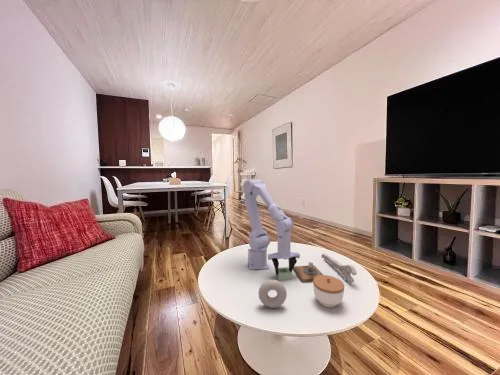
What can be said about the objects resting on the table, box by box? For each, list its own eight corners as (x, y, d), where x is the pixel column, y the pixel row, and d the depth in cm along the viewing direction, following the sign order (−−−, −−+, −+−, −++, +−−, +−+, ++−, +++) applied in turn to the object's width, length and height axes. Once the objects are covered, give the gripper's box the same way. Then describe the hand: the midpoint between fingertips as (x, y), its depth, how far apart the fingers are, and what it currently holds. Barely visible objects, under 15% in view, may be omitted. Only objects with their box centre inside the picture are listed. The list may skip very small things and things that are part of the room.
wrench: (324, 263, 117) (357, 287, 87) (321, 263, 117) (352, 287, 87) (324, 248, 117) (356, 267, 87) (321, 248, 117) (352, 268, 87)
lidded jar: (307, 302, 78) (308, 278, 77) (320, 290, 86) (320, 268, 85) (336, 316, 71) (338, 290, 70) (347, 301, 79) (348, 277, 78)
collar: (279, 280, 93) (279, 273, 93) (275, 273, 99) (276, 267, 99) (291, 279, 94) (291, 272, 94) (287, 273, 100) (287, 267, 99)
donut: (285, 304, 77) (286, 278, 76) (287, 310, 74) (287, 283, 73) (258, 303, 77) (258, 277, 76) (258, 309, 74) (258, 282, 73)
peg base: (301, 282, 91) (302, 270, 91) (292, 269, 103) (293, 258, 103) (325, 280, 93) (326, 268, 92) (314, 268, 105) (314, 257, 104)
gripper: (270, 248, 90) (269, 279, 91) (302, 247, 92) (301, 277, 93) (266, 243, 97) (266, 271, 98) (297, 241, 99) (296, 269, 100)
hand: (283, 273), depth 96 cm, fingers closed on collar, 6 cm apart
